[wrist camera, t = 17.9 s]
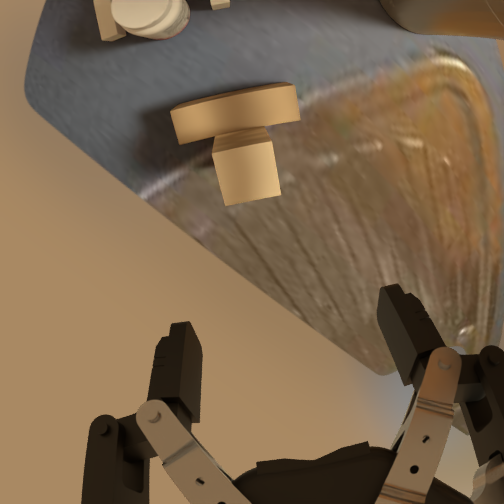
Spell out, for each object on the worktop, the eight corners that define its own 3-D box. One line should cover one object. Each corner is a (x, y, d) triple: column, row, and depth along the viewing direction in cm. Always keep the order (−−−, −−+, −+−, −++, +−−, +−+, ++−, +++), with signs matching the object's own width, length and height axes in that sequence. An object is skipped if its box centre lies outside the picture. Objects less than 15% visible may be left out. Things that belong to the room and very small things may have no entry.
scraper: (286, 81, 25) (309, 90, 18) (297, 151, 29) (322, 187, 22) (177, 104, 26) (156, 123, 18) (196, 172, 29) (185, 214, 22)
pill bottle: (128, 28, 21) (91, 19, 14) (157, -13, 18) (130, -38, 12) (171, 49, 22) (147, 44, 15) (201, 7, 20) (189, -14, 13)
